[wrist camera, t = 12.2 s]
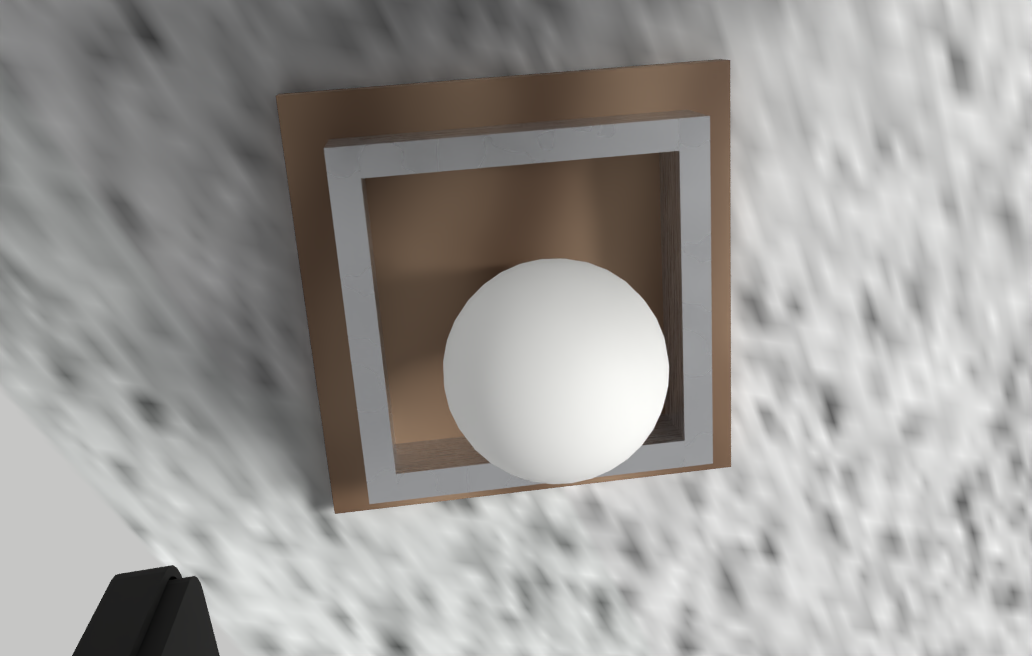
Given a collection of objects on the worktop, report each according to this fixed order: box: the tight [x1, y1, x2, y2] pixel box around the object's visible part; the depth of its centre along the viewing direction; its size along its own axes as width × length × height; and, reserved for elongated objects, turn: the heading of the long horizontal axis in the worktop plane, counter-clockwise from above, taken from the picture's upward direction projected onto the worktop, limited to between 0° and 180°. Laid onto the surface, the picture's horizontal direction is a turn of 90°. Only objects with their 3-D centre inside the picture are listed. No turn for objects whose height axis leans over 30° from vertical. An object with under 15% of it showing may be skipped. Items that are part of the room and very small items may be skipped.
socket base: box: [276, 59, 731, 514], centre depth 34 cm, size 15×15×1 cm
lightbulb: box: [443, 259, 669, 484], centre depth 29 cm, size 6×6×11 cm
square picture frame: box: [324, 110, 713, 504], centre depth 33 cm, size 12×12×2 cm
